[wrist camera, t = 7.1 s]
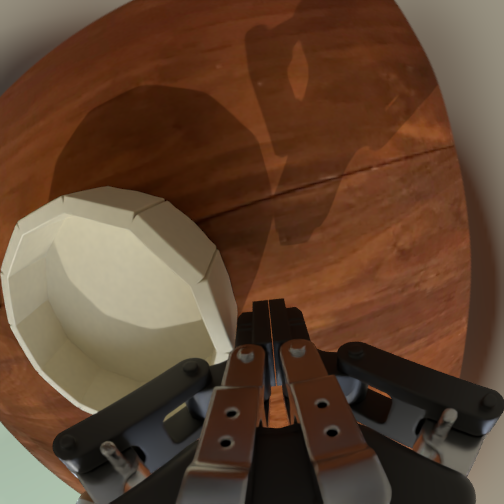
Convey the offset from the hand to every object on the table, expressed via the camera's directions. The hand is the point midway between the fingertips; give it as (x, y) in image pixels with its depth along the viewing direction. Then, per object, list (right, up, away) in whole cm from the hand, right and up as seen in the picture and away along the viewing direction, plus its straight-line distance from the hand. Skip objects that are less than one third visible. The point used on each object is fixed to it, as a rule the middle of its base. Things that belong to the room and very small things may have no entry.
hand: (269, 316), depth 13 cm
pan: (-8, -4, +4) cm, 10 cm away
